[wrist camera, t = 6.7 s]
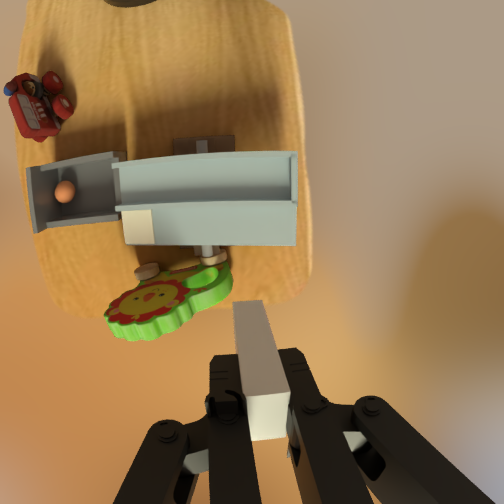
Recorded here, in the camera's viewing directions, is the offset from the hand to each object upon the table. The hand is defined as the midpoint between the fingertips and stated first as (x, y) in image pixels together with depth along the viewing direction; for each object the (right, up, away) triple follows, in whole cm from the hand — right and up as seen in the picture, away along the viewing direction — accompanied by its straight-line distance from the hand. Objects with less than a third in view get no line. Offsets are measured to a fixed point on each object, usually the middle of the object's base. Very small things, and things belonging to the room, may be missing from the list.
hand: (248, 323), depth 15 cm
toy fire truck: (-30, +26, +16) cm, 43 cm away
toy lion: (-11, +1, +27) cm, 29 cm away
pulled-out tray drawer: (-23, +13, +21) cm, 34 cm away
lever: (-5, +10, +17) cm, 20 cm away
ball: (-26, +12, +19) cm, 34 cm away
